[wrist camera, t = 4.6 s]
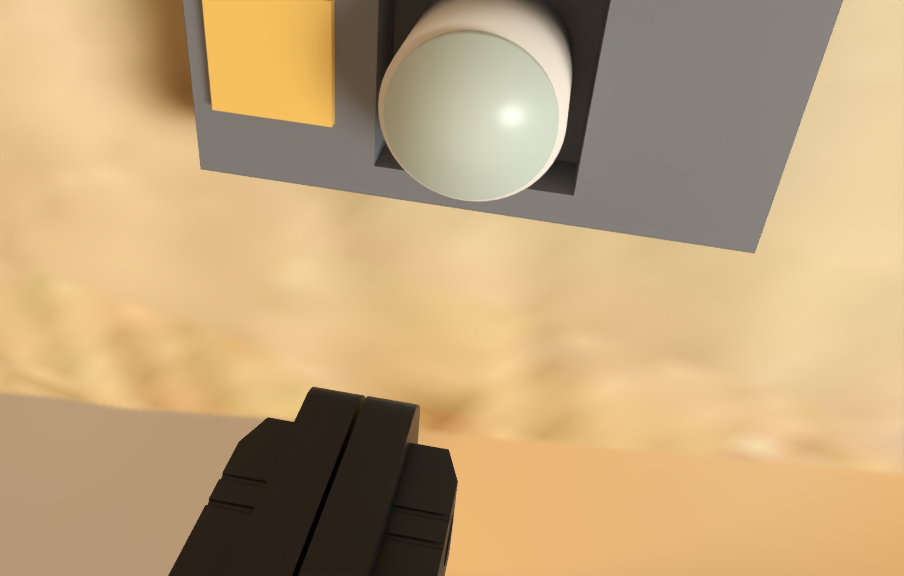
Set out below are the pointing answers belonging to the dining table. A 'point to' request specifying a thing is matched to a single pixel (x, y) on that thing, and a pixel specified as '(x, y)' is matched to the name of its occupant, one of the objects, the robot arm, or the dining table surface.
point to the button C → (479, 96)
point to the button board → (589, 116)
